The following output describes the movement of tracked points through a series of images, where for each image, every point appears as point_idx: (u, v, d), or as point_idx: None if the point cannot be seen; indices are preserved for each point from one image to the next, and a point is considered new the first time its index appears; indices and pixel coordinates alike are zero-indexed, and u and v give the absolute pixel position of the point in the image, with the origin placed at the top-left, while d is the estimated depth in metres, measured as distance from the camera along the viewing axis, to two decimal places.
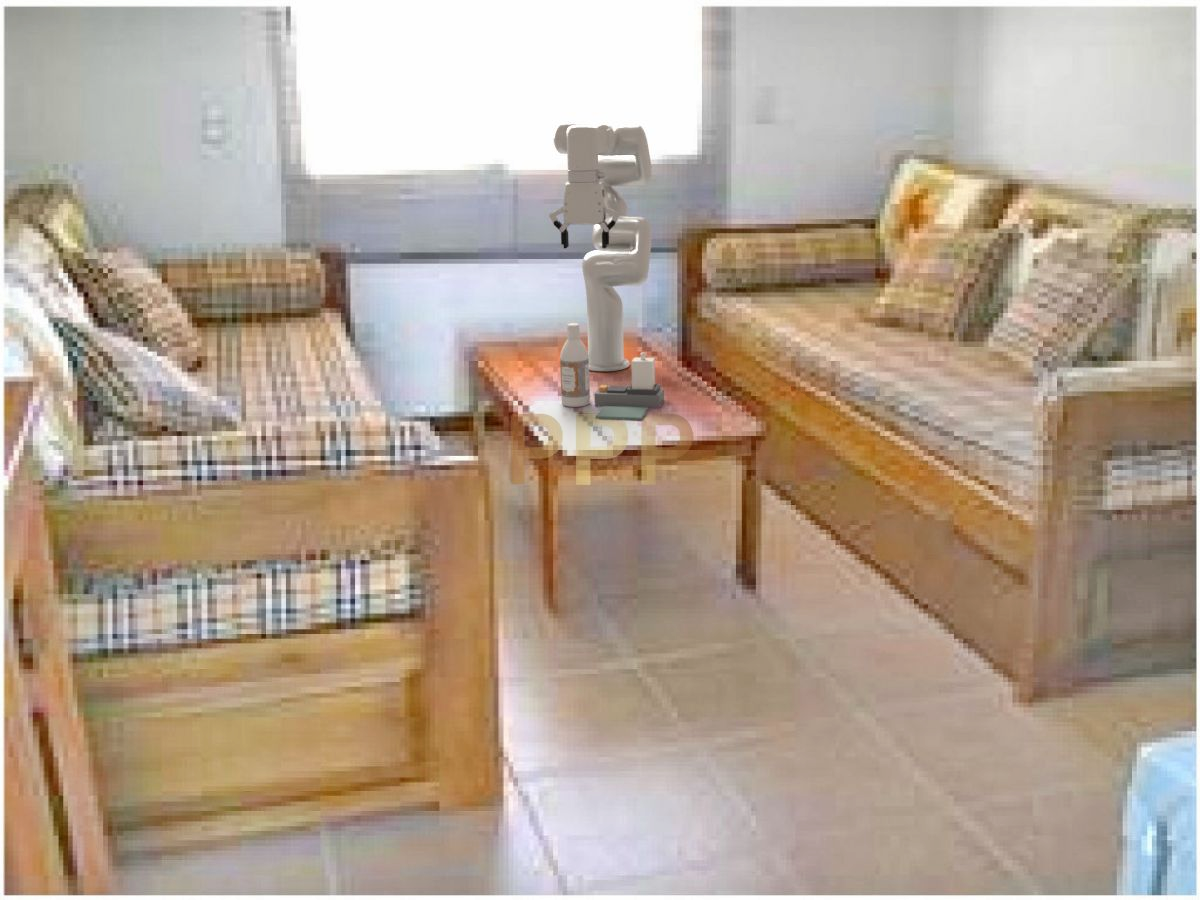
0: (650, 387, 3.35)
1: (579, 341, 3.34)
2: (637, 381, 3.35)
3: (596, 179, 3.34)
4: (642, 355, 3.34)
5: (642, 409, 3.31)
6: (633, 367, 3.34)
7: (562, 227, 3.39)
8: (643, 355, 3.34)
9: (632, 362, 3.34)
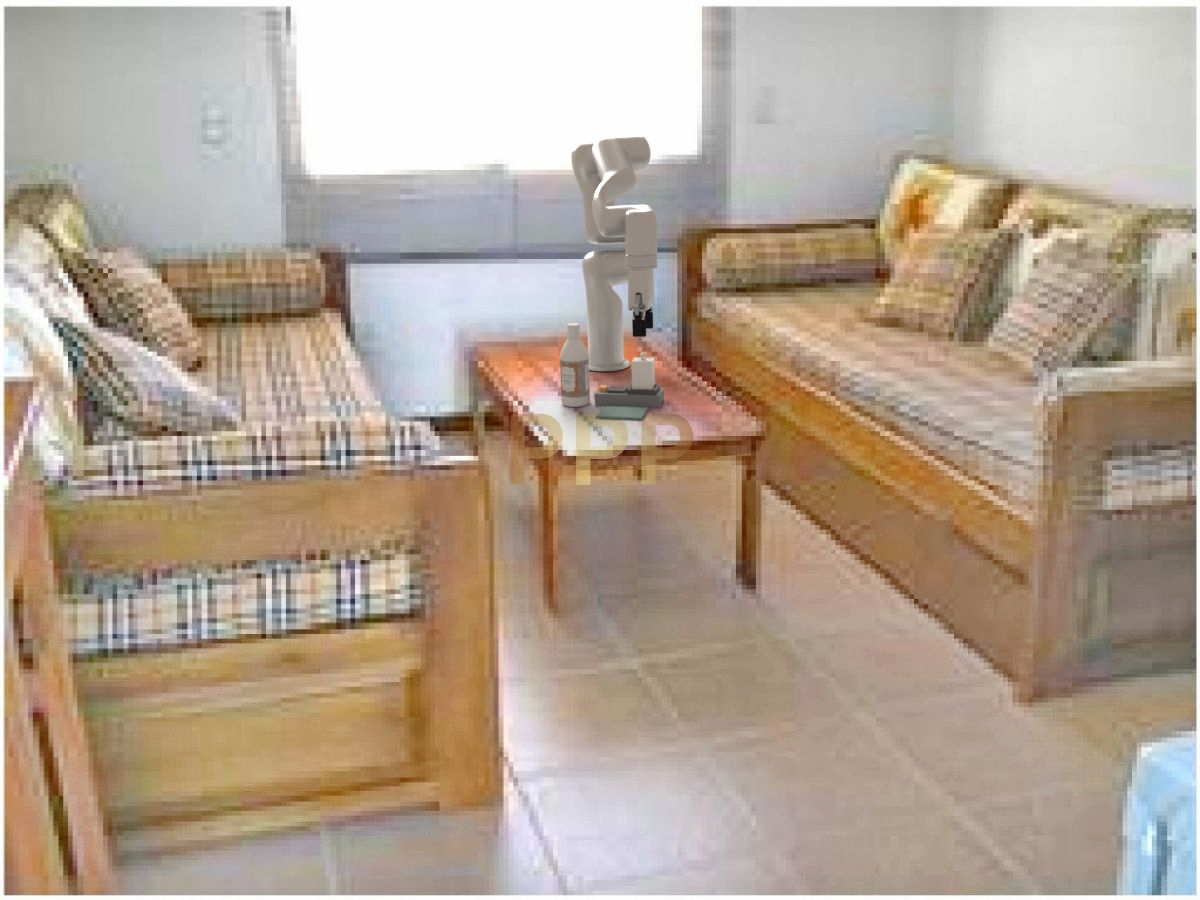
0: (650, 387, 3.35)
1: (579, 341, 3.34)
2: (637, 381, 3.35)
3: None
4: (642, 355, 3.34)
5: (642, 409, 3.31)
6: (633, 367, 3.34)
7: (644, 315, 3.26)
8: (643, 355, 3.34)
9: (632, 362, 3.34)
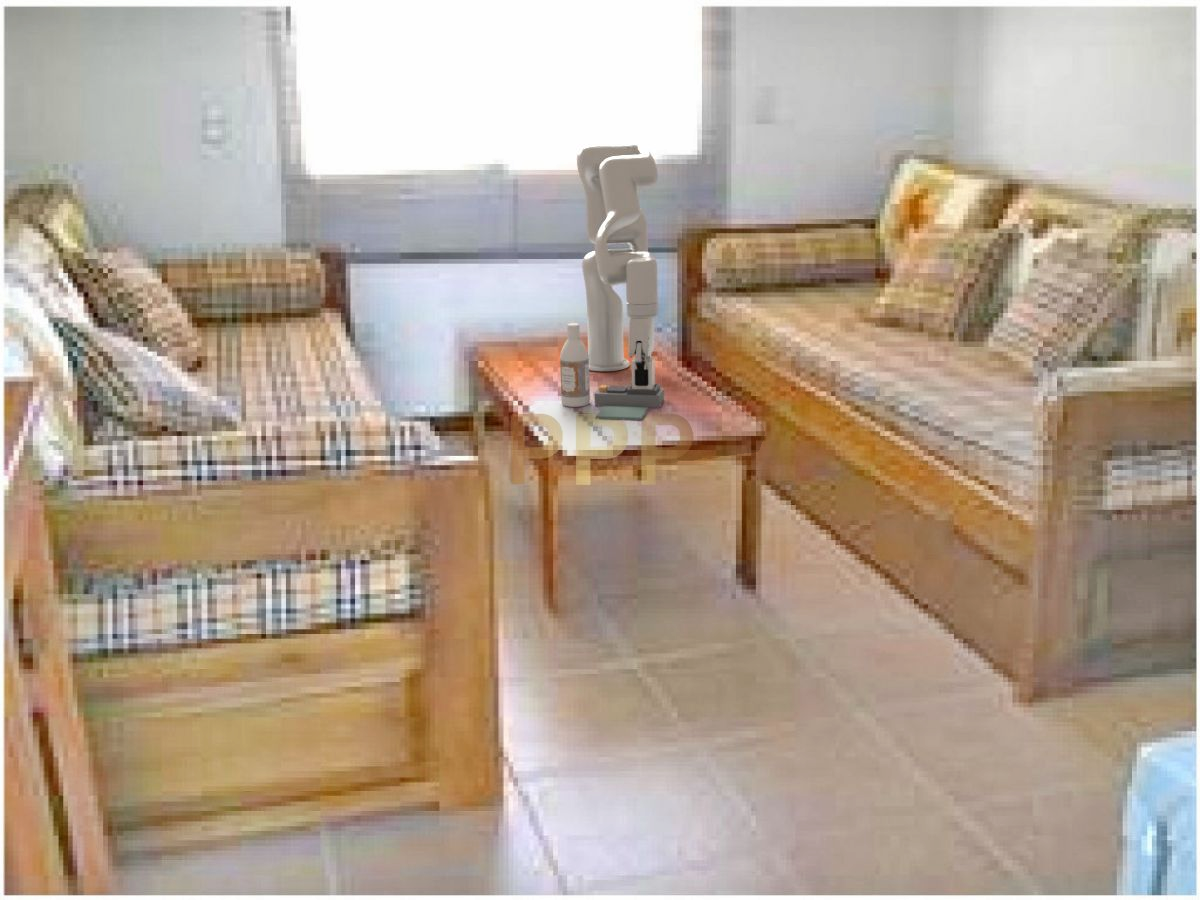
0: (650, 387, 3.35)
1: (579, 341, 3.34)
2: None
3: None
4: (642, 355, 3.34)
5: (642, 409, 3.31)
6: (633, 367, 3.34)
7: (646, 365, 3.32)
8: (643, 355, 3.34)
9: (632, 362, 3.34)
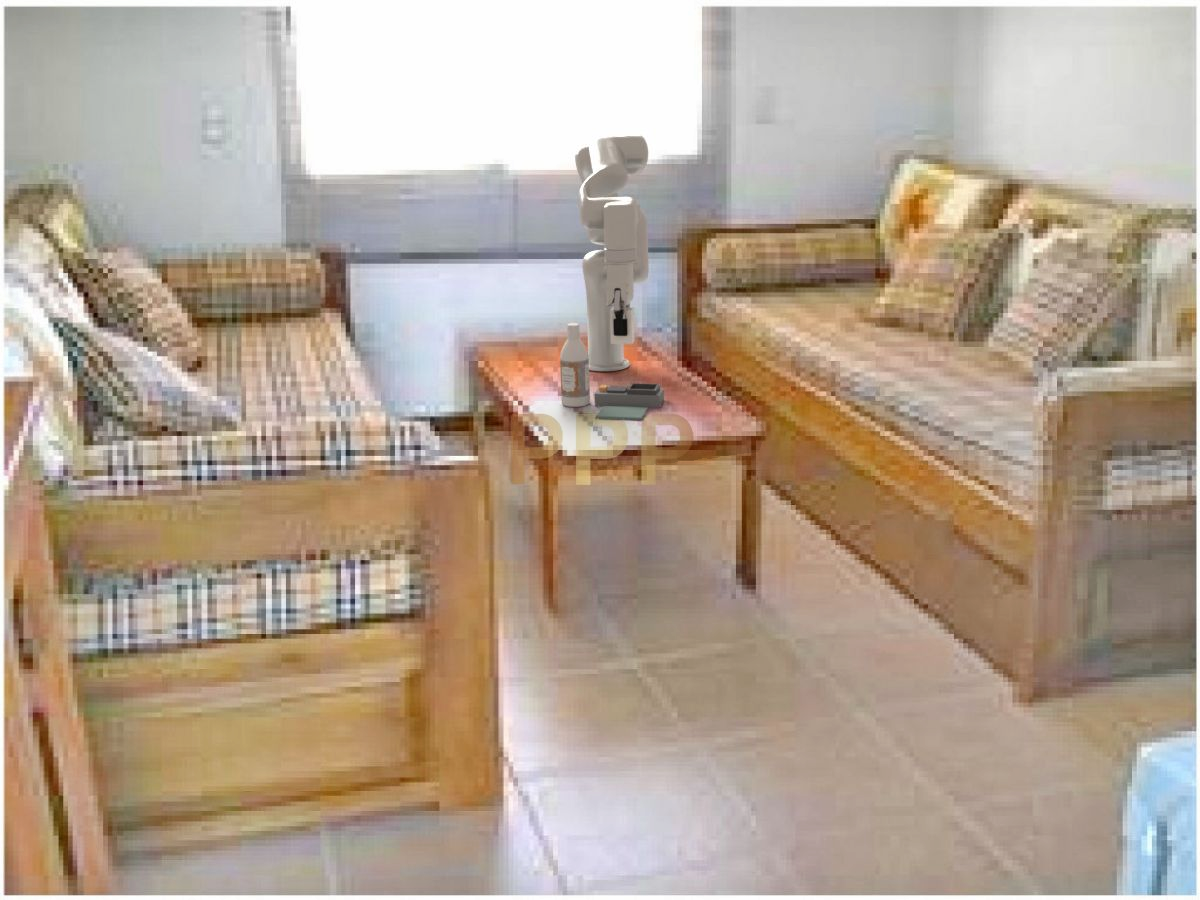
0: (629, 337, 3.23)
1: (579, 341, 3.34)
2: None
3: None
4: (621, 304, 3.22)
5: (642, 409, 3.31)
6: (612, 316, 3.22)
7: (625, 314, 3.20)
8: (622, 304, 3.22)
9: (611, 311, 3.22)
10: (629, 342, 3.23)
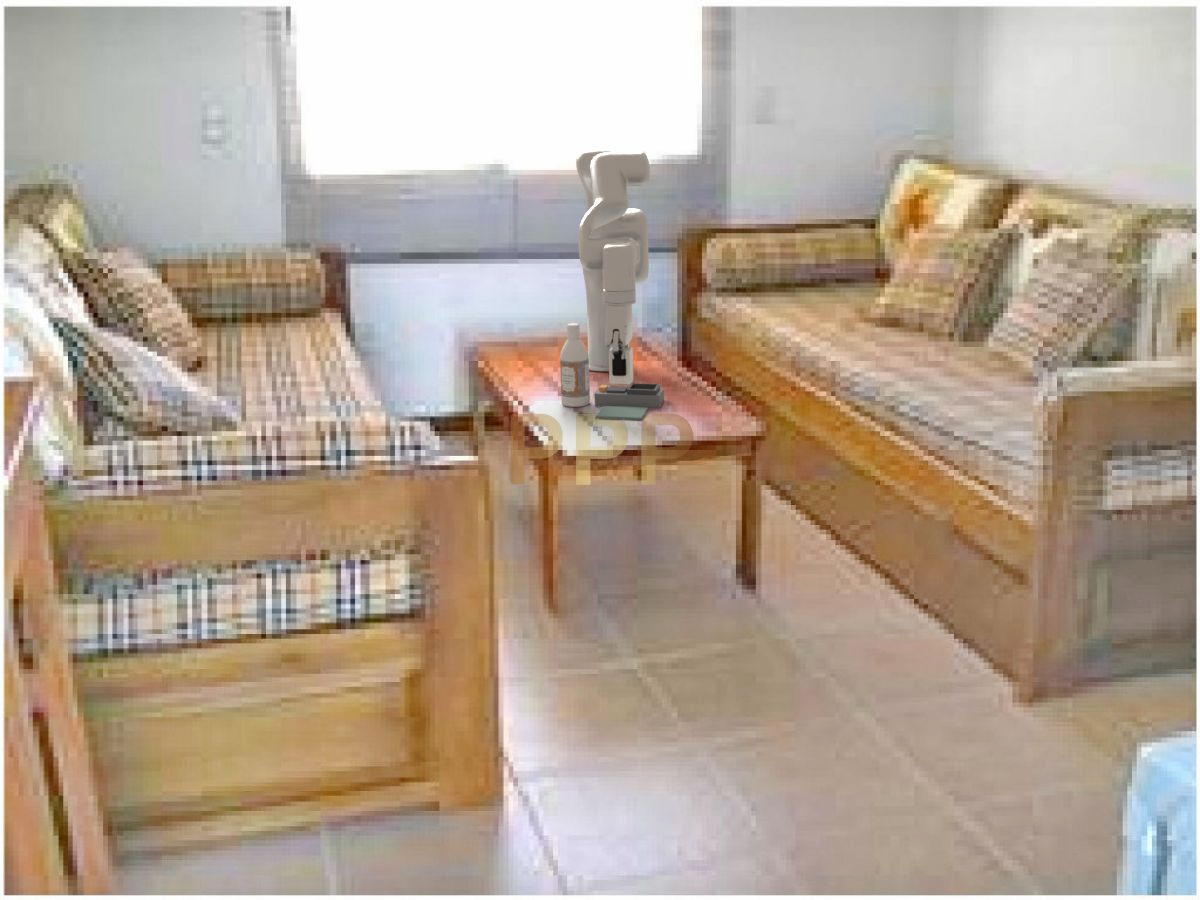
0: (628, 377, 3.25)
1: (579, 341, 3.34)
2: None
3: None
4: (620, 344, 3.24)
5: (642, 409, 3.31)
6: (610, 356, 3.24)
7: (623, 354, 3.22)
8: (621, 344, 3.24)
9: (609, 351, 3.24)
10: (628, 382, 3.25)
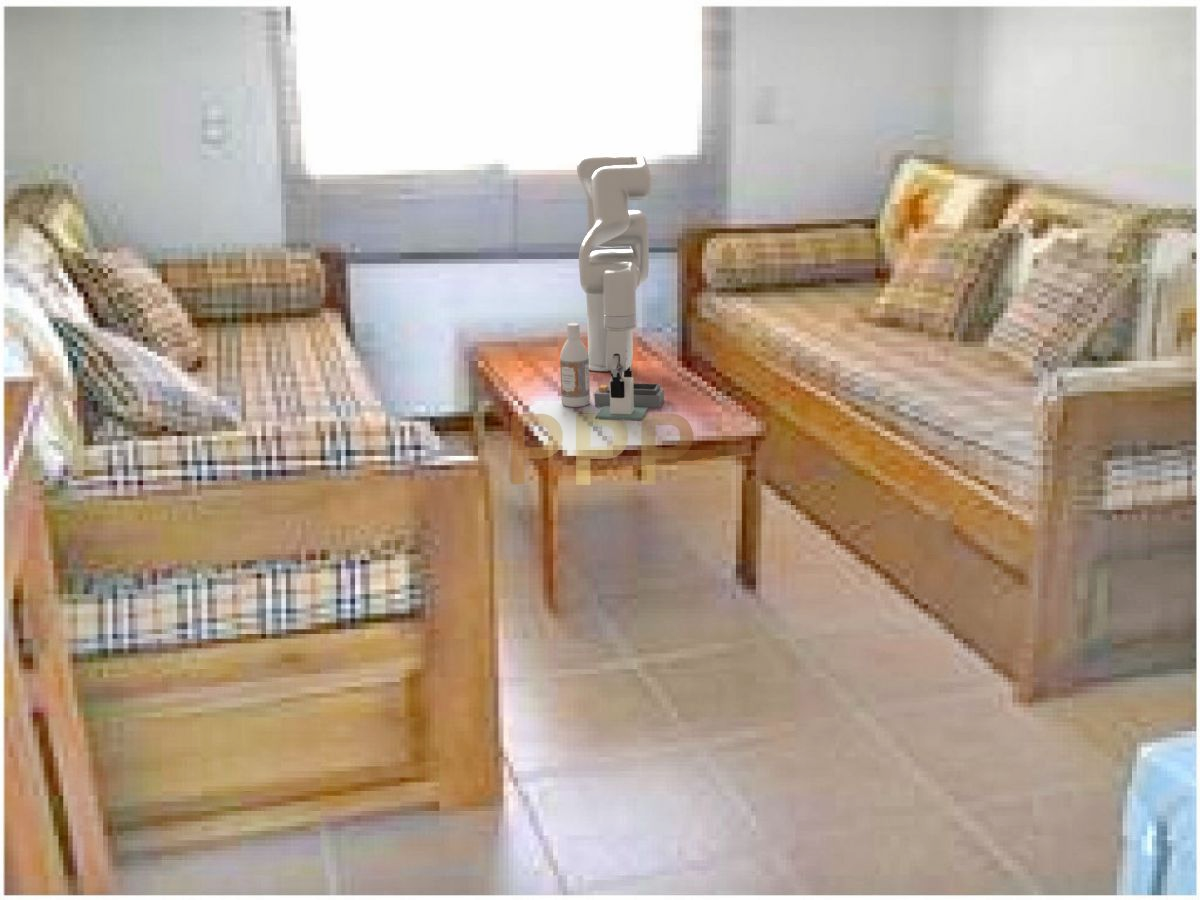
0: (629, 407, 3.27)
1: (579, 341, 3.34)
2: (615, 402, 3.27)
3: None
4: None
5: (642, 409, 3.31)
6: None
7: (622, 377, 3.22)
8: None
9: (610, 382, 3.26)
10: (628, 412, 3.27)
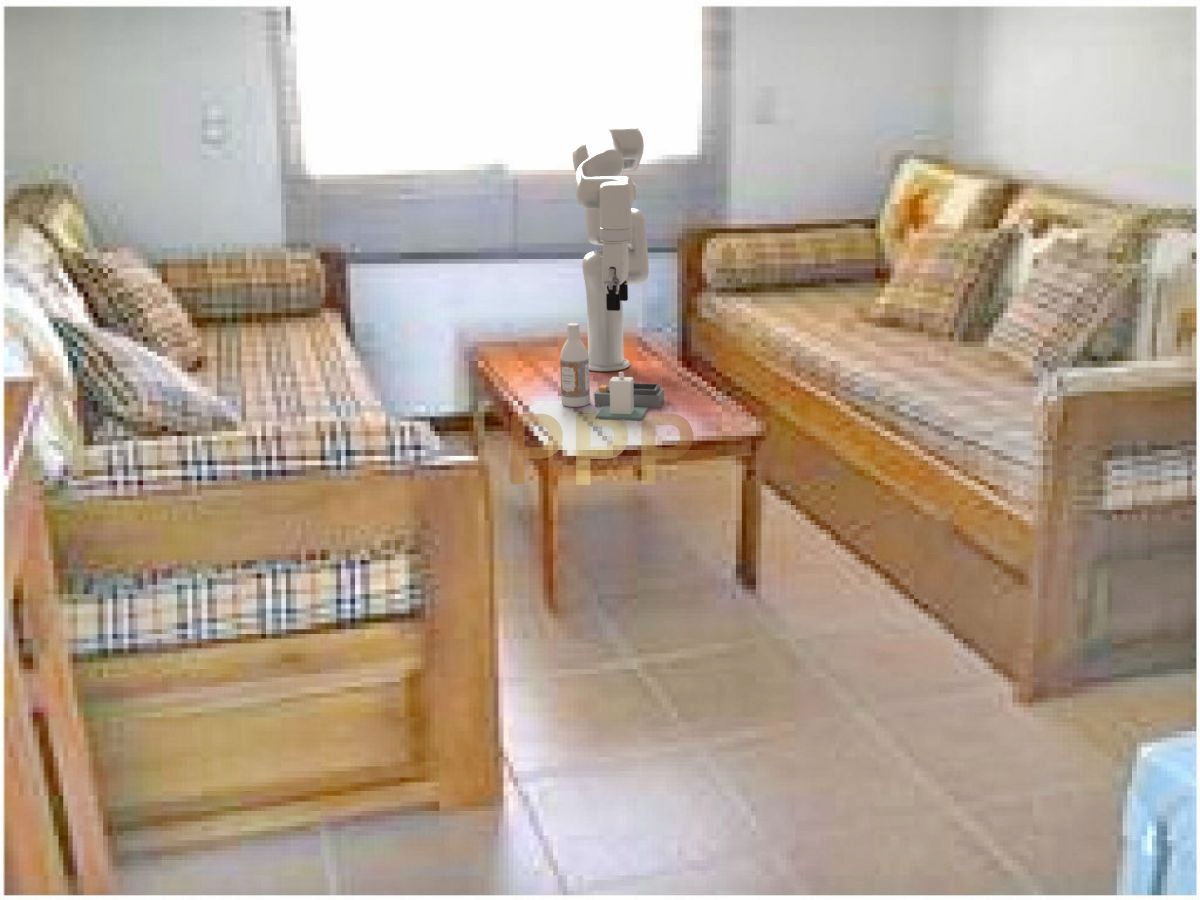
0: (629, 407, 3.27)
1: (579, 341, 3.34)
2: (615, 402, 3.27)
3: None
4: (620, 375, 3.27)
5: (642, 409, 3.31)
6: (611, 387, 3.26)
7: (618, 289, 3.26)
8: (621, 375, 3.27)
9: (610, 382, 3.26)
10: (628, 412, 3.27)
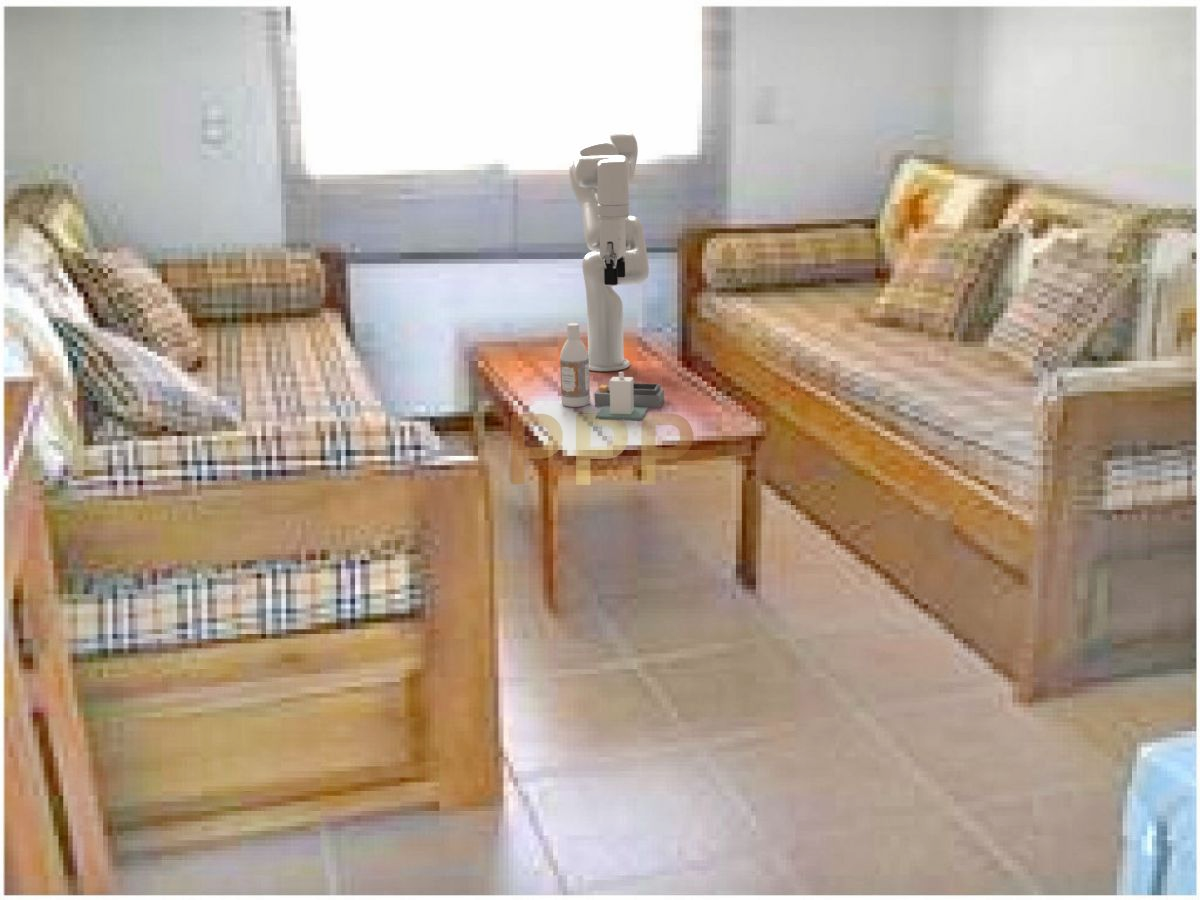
0: (629, 407, 3.27)
1: (579, 341, 3.34)
2: (615, 402, 3.27)
3: None
4: (620, 375, 3.27)
5: (642, 409, 3.31)
6: (611, 387, 3.26)
7: (615, 264, 3.34)
8: (621, 375, 3.27)
9: (610, 382, 3.26)
10: (628, 412, 3.27)
